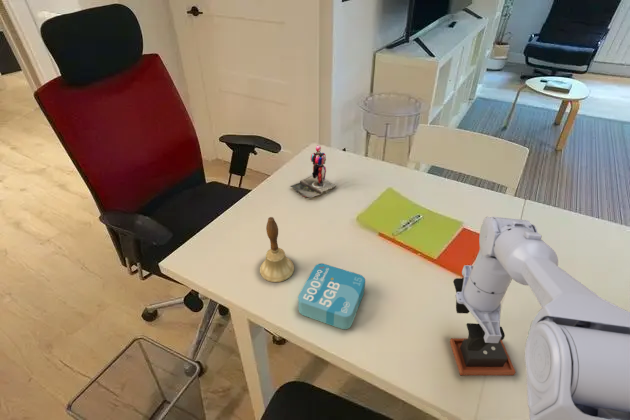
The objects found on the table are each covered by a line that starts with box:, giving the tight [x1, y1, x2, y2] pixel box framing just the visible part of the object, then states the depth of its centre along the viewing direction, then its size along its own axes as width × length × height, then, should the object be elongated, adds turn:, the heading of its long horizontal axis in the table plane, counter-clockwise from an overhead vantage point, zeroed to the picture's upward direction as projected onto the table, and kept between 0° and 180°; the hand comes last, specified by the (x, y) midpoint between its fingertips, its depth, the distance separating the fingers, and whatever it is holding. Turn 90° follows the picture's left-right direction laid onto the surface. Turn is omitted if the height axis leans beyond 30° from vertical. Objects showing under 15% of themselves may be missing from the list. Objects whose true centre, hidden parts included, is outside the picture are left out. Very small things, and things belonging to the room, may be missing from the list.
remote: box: [460, 339, 508, 367], centre depth 71 cm, size 7×4×3 cm, turn 90°
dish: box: [449, 337, 517, 376], centre depth 72 cm, size 10×7×1 cm
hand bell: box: [259, 216, 295, 283], centre depth 85 cm, size 8×8×16 cm
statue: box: [289, 145, 337, 199], centre depth 112 cm, size 11×9×15 cm
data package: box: [297, 262, 366, 330], centre depth 81 cm, size 12×4×12 cm
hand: (467, 329), depth 68 cm, fingers open, 7 cm apart
